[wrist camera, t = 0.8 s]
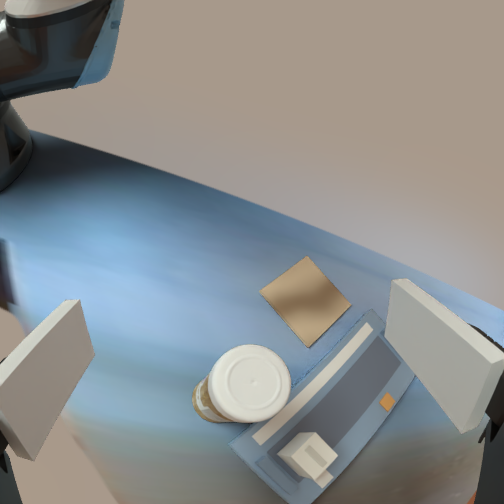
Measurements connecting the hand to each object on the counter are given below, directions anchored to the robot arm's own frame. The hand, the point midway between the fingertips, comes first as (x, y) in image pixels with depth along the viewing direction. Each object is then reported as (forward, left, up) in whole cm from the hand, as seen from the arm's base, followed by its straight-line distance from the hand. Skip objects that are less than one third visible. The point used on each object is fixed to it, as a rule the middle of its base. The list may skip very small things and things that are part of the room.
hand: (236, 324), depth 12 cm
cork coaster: (+1, +16, -18) cm, 24 cm away
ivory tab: (+12, +3, -17) cm, 20 cm away
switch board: (+12, +10, -18) cm, 24 cm away
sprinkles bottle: (+3, +1, -19) cm, 19 cm away
